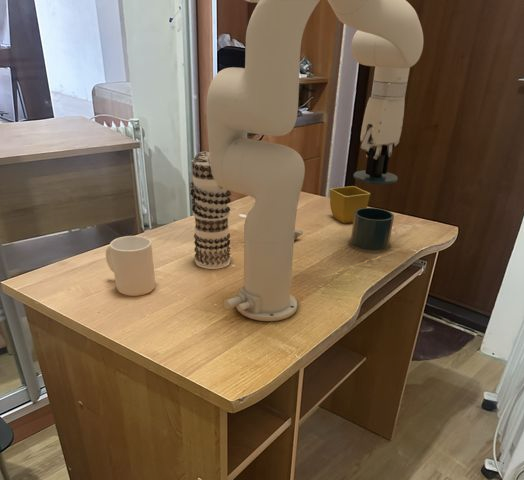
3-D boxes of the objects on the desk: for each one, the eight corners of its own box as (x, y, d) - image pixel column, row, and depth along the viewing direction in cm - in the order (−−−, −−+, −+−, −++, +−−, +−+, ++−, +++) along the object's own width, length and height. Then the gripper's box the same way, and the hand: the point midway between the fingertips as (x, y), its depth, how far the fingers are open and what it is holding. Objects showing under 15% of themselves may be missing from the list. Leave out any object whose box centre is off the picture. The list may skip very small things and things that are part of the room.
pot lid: (378, 188, 116) (382, 162, 113) (344, 178, 123) (347, 152, 119) (405, 181, 122) (410, 156, 119) (371, 172, 129) (375, 147, 125)
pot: (371, 255, 125) (377, 223, 121) (342, 243, 132) (346, 212, 127) (395, 246, 131) (402, 215, 126) (367, 235, 137) (371, 205, 132)
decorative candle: (222, 251, 124) (221, 147, 110) (237, 265, 118) (238, 156, 104) (188, 257, 121) (182, 150, 107) (202, 272, 114) (197, 160, 100)
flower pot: (325, 218, 148) (329, 188, 143) (350, 214, 151) (354, 185, 146) (341, 227, 142) (345, 196, 136) (366, 224, 145) (371, 193, 140)
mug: (96, 285, 107) (88, 240, 101) (124, 272, 113) (118, 229, 107) (136, 300, 102) (130, 254, 96) (163, 286, 108) (159, 241, 102)
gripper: (397, 87, 118) (384, 166, 128) (352, 90, 109) (342, 175, 119) (424, 90, 113) (408, 172, 124) (379, 94, 104) (366, 182, 115)
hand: (376, 173), depth 121 cm, fingers closed on pot lid, 3 cm apart
